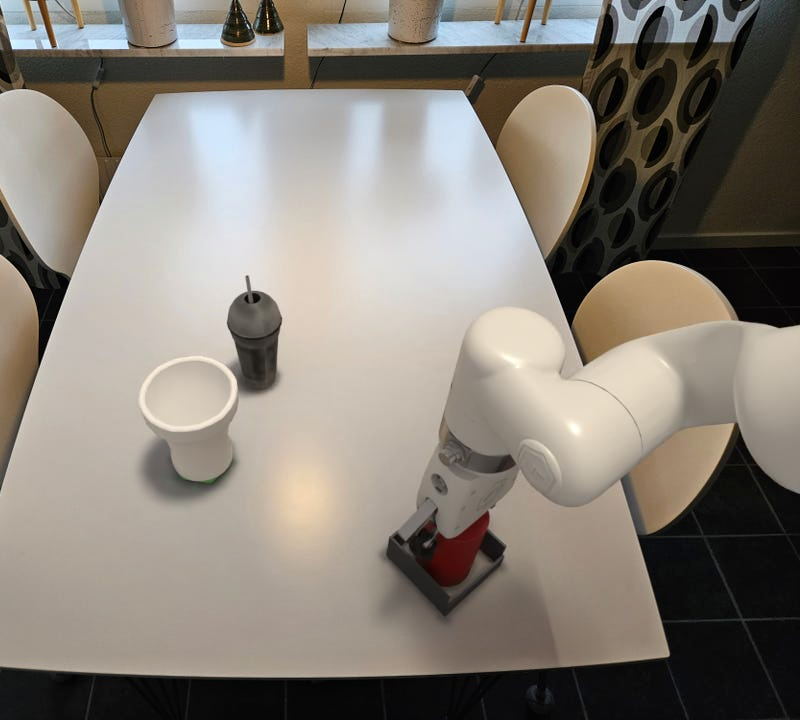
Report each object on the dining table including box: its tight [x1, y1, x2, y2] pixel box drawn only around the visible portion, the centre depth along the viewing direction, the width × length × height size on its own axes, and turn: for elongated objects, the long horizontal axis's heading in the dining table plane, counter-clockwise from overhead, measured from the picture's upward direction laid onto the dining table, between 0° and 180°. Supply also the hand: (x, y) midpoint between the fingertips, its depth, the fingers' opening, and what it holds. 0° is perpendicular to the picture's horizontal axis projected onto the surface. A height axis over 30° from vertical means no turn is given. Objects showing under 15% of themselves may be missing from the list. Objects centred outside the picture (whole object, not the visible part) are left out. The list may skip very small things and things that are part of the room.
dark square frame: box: [385, 528, 508, 618], centre depth 73 cm, size 9×9×4 cm
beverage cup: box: [226, 274, 283, 390], centre depth 86 cm, size 7×7×20 cm
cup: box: [138, 355, 239, 485], centre depth 78 cm, size 11×11×14 cm
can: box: [414, 510, 491, 588], centre depth 71 cm, size 6×6×11 cm
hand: (451, 524), depth 69 cm, fingers open, 9 cm apart
